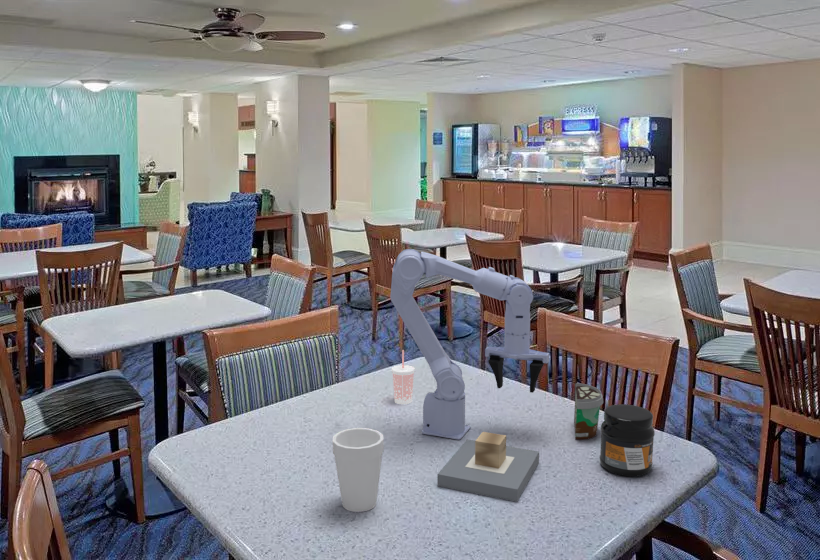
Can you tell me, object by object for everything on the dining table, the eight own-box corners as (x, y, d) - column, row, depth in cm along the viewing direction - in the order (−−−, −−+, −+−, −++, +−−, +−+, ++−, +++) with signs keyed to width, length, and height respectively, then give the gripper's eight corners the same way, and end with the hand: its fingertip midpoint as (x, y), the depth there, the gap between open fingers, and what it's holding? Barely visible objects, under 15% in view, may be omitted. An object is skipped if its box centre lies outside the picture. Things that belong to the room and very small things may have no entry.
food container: (603, 444, 154) (605, 402, 153) (575, 442, 156) (577, 400, 154) (600, 423, 166) (601, 383, 164) (573, 421, 167) (575, 382, 166)
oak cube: (474, 464, 139) (475, 440, 138) (482, 454, 144) (482, 431, 143) (498, 468, 137) (499, 444, 136) (505, 458, 142) (506, 435, 141)
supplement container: (638, 483, 136) (642, 426, 134) (589, 467, 143) (592, 412, 141) (660, 466, 144) (664, 411, 142) (613, 451, 151) (616, 399, 149)
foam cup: (335, 492, 133) (333, 428, 131) (383, 490, 134) (382, 426, 132) (333, 517, 124) (332, 449, 122) (385, 515, 125) (384, 447, 122)
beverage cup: (415, 397, 184) (415, 347, 182) (413, 406, 178) (413, 353, 176) (393, 396, 185) (392, 346, 182) (390, 405, 179) (389, 353, 176)
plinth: (437, 485, 136) (437, 473, 135) (466, 449, 152) (467, 438, 151) (517, 501, 129) (517, 488, 129) (538, 462, 146) (539, 450, 145)
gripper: (481, 333, 157) (480, 390, 159) (544, 339, 151) (543, 398, 153) (490, 326, 163) (489, 381, 165) (551, 331, 157) (550, 388, 160)
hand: (516, 389), depth 160 cm, fingers open, 7 cm apart
